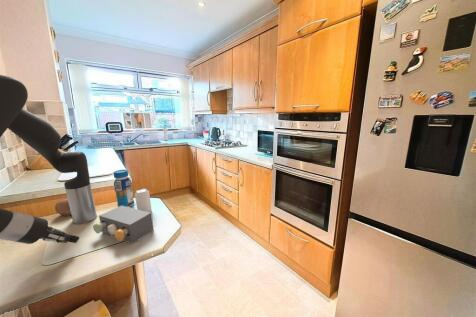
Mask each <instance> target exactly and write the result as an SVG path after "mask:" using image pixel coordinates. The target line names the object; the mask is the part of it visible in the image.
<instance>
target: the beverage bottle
mask: <svg viewBox="0 0 476 317" xmlns="http://www.w3.org/2000/svg"><path fill="white" fill-rule="evenodd" d="M112 173H113V174H112V175H113V177H114V179H115V180H114V181H113V186H114V187H113V189H114V192H115V198H116V204H117V207H119V206H126V207H130V208H131V206H134V204H135V199H134V194H133V184H132V181H131V179H130V177H129V171H128V169H118V170H115V171H113V172H112Z"/></svg>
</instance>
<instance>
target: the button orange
mask: <svg viewBox="0 0 476 317" xmlns="http://www.w3.org/2000/svg"><path fill="white" fill-rule="evenodd" d="M127 234H129V230H128V228H125V229H123V230H121V229H119V230H117V231H115V232H114V236H115V237H114V238H115V240H116V241H117V242H121V241H124V240H123V239H124V238H125V235H127Z"/></svg>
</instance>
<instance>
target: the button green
mask: <svg viewBox="0 0 476 317" xmlns="http://www.w3.org/2000/svg"><path fill="white" fill-rule="evenodd" d="M106 227H108V225H107V222H106V221H105V222H103V223H100V221H99V222H96V223H95V224H94V223H93V231H94V232H95V233H96V234H100V233H102V231H103V230H104V228H106Z"/></svg>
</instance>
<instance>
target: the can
mask: <svg viewBox="0 0 476 317" xmlns="http://www.w3.org/2000/svg"><path fill="white" fill-rule="evenodd" d="M134 198H135V203H136V205H135V206H136V209H138V210H142V211H146V212H150V213H152V203H151V195H150V191H149V189H148V188H143V187H142V188H139V189H137V190H135V194H134Z"/></svg>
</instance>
